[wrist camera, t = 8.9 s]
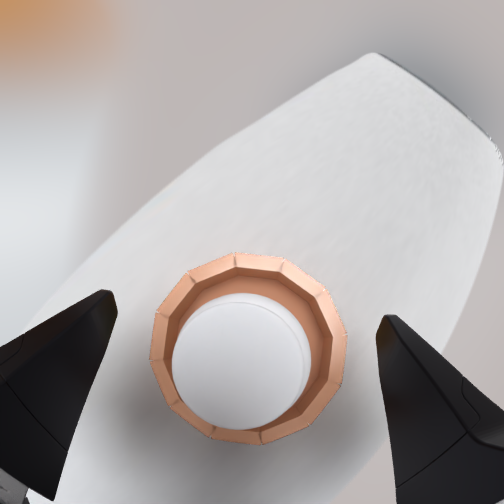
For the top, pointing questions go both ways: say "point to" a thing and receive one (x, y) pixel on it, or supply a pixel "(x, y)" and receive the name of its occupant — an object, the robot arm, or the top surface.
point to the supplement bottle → (241, 361)
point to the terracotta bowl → (280, 290)
